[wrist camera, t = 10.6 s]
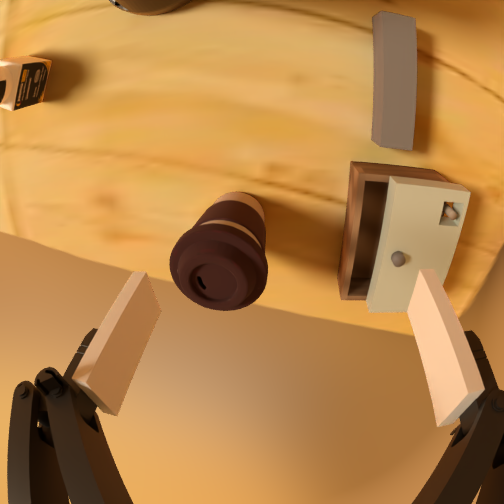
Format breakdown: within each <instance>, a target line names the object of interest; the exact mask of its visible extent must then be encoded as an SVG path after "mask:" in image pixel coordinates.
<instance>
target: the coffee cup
mask: <svg viewBox="0 0 504 504" xmlns="http://www.w3.org/2000/svg"><path fill="white" fill-rule="evenodd" d="M264 221H265V216H264V211H263V209H262V207H261V205H260V204H259V202H258V201H257V200H256V199H255V198H253V197H252V196H250V195H248V194H245V193H242V192H231V193H227V194H225V195H223V196H221V197H220V198H218V199H217V200H216V202H215V203H214V204H213V205H212V206H211V207H209V208H208V209H207V210H206V211H205V213H204V214H203V215H202V216H201V218H200V219H199V220H198V221H197V223H196V224H195V225H194V226H193V228H192V229H190V230H188V231H187V232H186V233H184V234H183V235H182V236H181V238H180V239H179V240H178V242H177V243H176V245H175V246H174V248H173V250H172V253H171V256H170V272H171V275H172V278H173V280H174V282H175V284H176V285H177V287H178V288H179V289H180V290H181V292H182V293H183V294H184V295H186V296H187V297H188V298H189V299H191V300H192V301H193V302H195V303H197V304H199V305H201V306H203V307H206V308H209V309H213V310H223V311H228V310H237V309H241V308H243V307H246V306H248V305H250V304H252V303H253V302H255V301H256V300H257V299H258V298H259V297H260V295H261V294H262V293H263V291H264V289H265V286H266V282H267V275H268V264H267V259H266V256H265V242H266V229H265V224H264Z"/></svg>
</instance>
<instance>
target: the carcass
mask: <svg viewBox="0 0 504 504" xmlns="http://www.w3.org/2000/svg"><path fill="white" fill-rule="evenodd" d="M390 176H398V177H407V178H416V179H425V180H433V181H440V182H448V183H450V182H449V181H448V180H446V179H445V178H444V177H443V176H441V175H440V174H439V173H437V172H436V171H435V170H431V169H423V168H416V167H407V166H399V165H389V164H379V163H367V162H354V161H351V163H350V176H349V188H348V198H347V208H346V218H345V226H344V234H343V242H342V250H341V257H340V264H339V271H338V277H337V279H338V285H339V291H340V297H341V300H366V299H367V295H368V291H369V287H370V283H371V278H372V274H373V269H374V265H375V260H376V256H377V251H378V246H379V241H380V235H381V230H382V224H383V219H384V213H385V207H386V200H387V193H388V186H389V179H390ZM444 212H445V213H446V214H447V216H448V217H449V218H450V219H451V220H455V219H456V218H457V214H456V212H455V211H454V210H453V209H452V208H451V207H450V206H449V205H448V204H447V202H446V201H444V205H443V209H442V214H441V216H442V217H443V216H444Z"/></svg>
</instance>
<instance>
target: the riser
mask: <svg viewBox="0 0 504 504" xmlns="http://www.w3.org/2000/svg"><path fill="white" fill-rule="evenodd" d="M372 22H373V46H374V96H373V122H372V138H371V140H372V141H374V142H375V143H376V144H377V145H379V146H380V147H386V148H395V149H403V150H410V151H412V147H413V138H414V127H415V113H416V94H417V38H416V20H415V18H413V17H409V16H404V15H400V14H395V13H390V12H385V11H380V12H379V13H378V14H376V15H375V16H373V17H372Z"/></svg>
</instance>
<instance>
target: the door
mask: <svg viewBox="0 0 504 504" xmlns="http://www.w3.org/2000/svg"><path fill="white" fill-rule="evenodd" d="M470 194H471V192H470V191H469V190H467V189H466V188H465V187H464V186H463V185H461V184H455V183H448V182H440V181H433V180H425V179H416V178H407V177H398V176H390V179H389V186H388V193H387V200H386V207H385V213H384V219H383V224H382V230H381V235H380V241H379V246H378V251H377V256H376V260H375V265H374V269H373V274H372V278H371V283H370V287H369V291H368V295H367V299H366V302H367V306H368V310H369V313H378V312H407V310H408V307H409V304H410V300H411V297H412V294H413V291H414V288H415V284H416V281H417V277H418V274H419V270H420V269H434V271H435V273H436V274H437V276H438V278H439V280H440V282H441V284H442V286H443V284H444V281H445V278H446V276H447V273H448V270H449V267H450V264H451V261H452V258H453V255H454V252H455V249H456V246H457V243H458V240H459V236H460V233H461V229H462V226H463V222H464V219H465V215H466V211H467V207H468V203H469V198H470ZM444 201H446V202H454V203H453V207H452V209H453V210H454V211H455V212H456V214H457V218H456V219H455V220H451V219H450V218H449V217H442V216H441V214H442V209H443V205H444Z"/></svg>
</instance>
